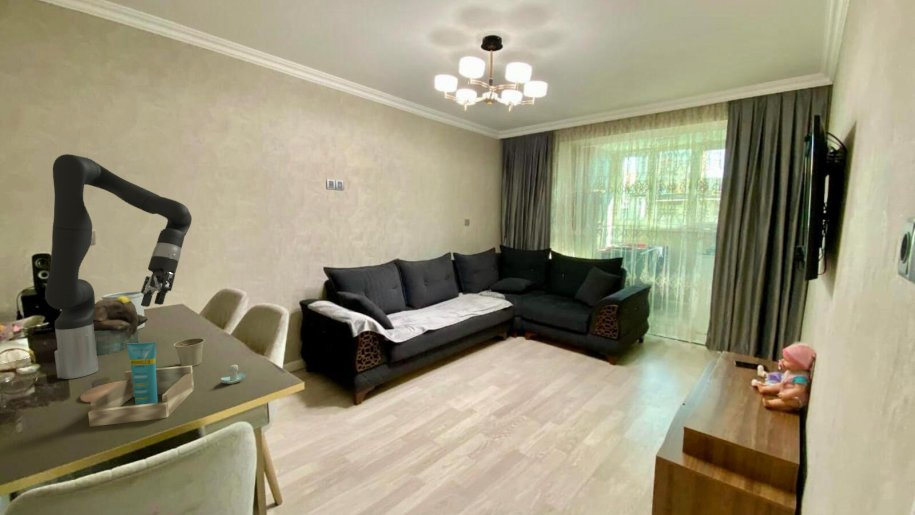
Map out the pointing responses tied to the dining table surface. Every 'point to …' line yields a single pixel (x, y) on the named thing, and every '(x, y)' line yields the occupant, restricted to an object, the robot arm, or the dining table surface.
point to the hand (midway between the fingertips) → (151, 305)
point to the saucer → (97, 392)
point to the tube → (143, 372)
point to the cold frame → (169, 383)
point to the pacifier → (233, 375)
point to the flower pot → (190, 351)
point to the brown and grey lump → (115, 325)
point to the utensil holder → (135, 299)
